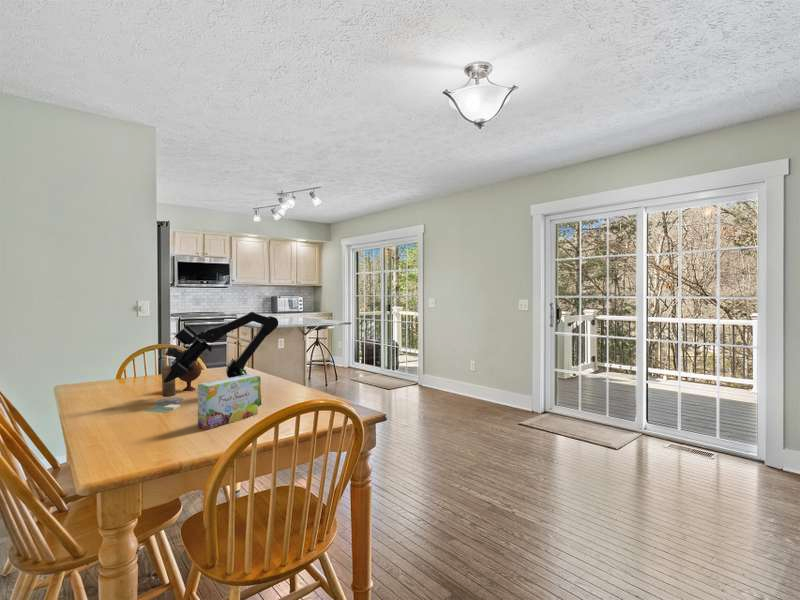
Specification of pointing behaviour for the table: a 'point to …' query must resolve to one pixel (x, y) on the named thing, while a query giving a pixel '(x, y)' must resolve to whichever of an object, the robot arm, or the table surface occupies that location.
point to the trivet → (168, 401)
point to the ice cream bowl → (191, 376)
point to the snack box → (227, 401)
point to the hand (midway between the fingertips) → (165, 381)
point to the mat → (163, 408)
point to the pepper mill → (168, 387)
